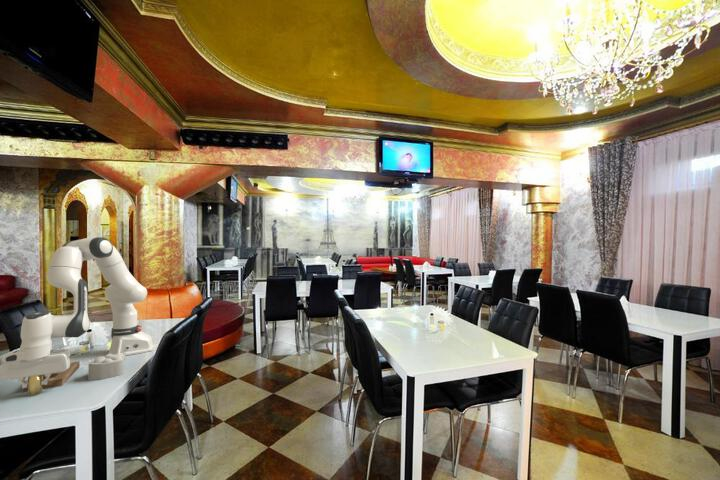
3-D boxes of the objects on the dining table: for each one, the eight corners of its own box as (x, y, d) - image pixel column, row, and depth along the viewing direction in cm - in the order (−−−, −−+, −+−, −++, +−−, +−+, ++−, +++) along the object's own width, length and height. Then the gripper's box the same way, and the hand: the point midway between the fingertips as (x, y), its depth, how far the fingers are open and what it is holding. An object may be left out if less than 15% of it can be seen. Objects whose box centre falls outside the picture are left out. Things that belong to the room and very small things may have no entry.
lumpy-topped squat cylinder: (124, 375, 139) (124, 356, 139) (86, 382, 131) (87, 363, 131) (124, 367, 147) (125, 350, 147) (89, 374, 139) (90, 356, 139)
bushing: (44, 390, 124) (44, 371, 124) (39, 394, 120) (40, 374, 120) (30, 392, 122) (31, 373, 122) (25, 396, 118) (26, 376, 118)
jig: (79, 367, 147) (79, 361, 147) (62, 385, 128) (62, 378, 128) (45, 372, 141) (46, 365, 141) (22, 392, 122) (22, 384, 122)
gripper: (73, 345, 129) (72, 377, 129) (4, 353, 119) (3, 388, 119) (67, 350, 124) (66, 383, 123) (-5, 359, 114) (-6, 395, 113)
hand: (35, 386), depth 121 cm, fingers closed on bushing, 4 cm apart
